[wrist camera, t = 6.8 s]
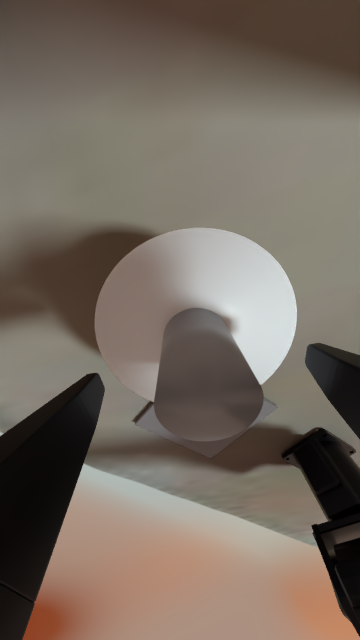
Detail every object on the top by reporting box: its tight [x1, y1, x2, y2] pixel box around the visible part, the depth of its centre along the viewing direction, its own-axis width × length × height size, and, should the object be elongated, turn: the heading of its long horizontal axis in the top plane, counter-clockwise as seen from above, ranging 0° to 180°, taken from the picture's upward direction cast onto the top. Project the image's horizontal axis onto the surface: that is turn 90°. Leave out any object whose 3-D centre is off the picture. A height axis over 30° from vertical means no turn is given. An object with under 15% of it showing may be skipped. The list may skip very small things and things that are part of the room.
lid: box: [95, 228, 297, 441], centre depth 8 cm, size 11×11×5 cm
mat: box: [135, 397, 277, 459], centre depth 20 cm, size 11×11×1 cm
